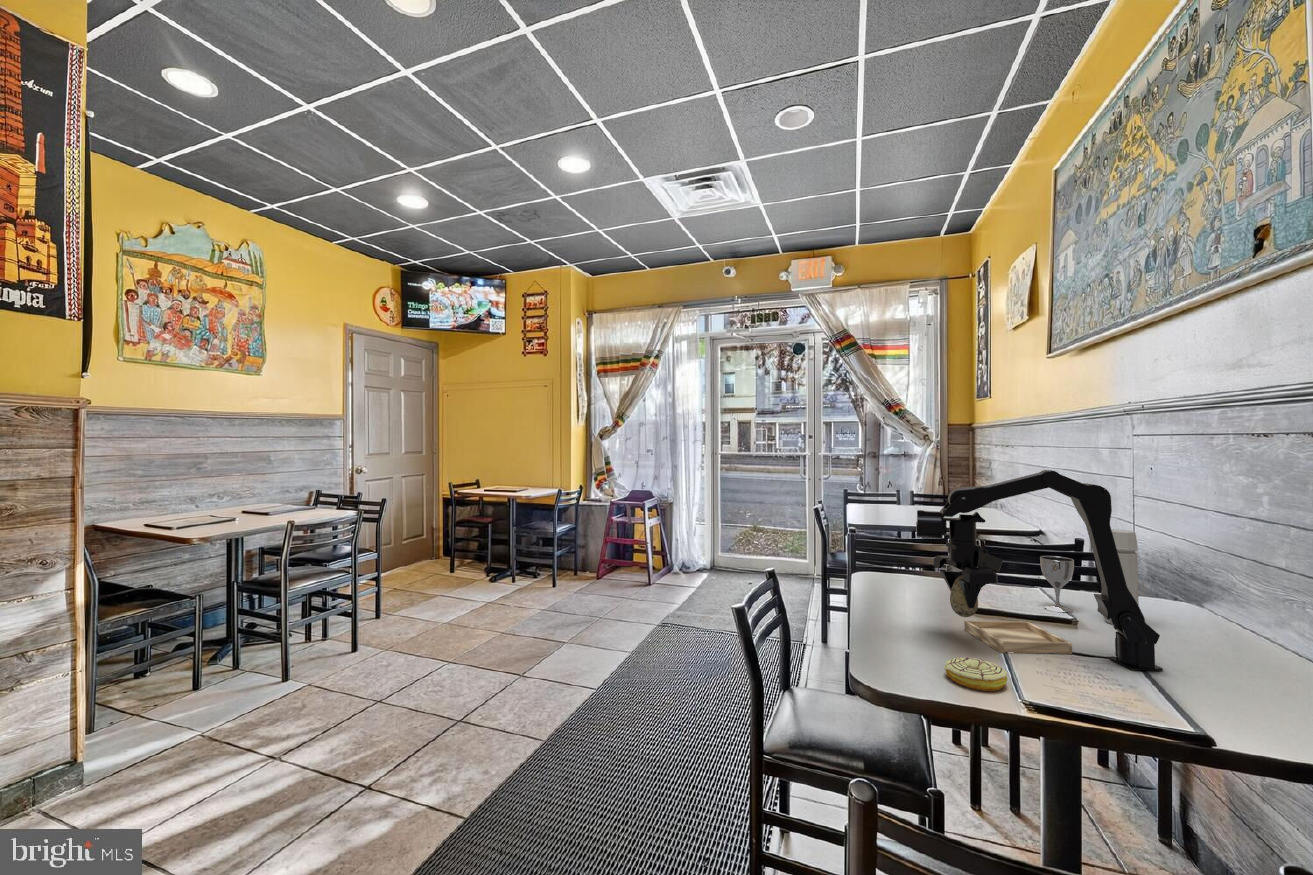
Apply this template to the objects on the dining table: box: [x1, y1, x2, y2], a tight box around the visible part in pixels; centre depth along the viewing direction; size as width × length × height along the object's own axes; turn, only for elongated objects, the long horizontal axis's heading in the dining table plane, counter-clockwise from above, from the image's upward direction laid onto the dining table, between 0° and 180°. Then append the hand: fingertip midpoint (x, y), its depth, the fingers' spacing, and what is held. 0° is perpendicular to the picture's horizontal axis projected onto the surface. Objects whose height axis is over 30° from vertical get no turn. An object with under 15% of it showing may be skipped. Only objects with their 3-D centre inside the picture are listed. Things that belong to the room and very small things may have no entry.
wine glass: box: [1039, 555, 1075, 614], centre depth 158 cm, size 8×8×15 cm
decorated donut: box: [944, 657, 1008, 692], centre depth 109 cm, size 10×11×4 cm
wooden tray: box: [963, 620, 1073, 655], centre depth 131 cm, size 16×16×2 cm
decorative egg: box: [949, 575, 979, 618], centre depth 130 cm, size 6×6×10 cm
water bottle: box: [1103, 528, 1140, 625], centre depth 146 cm, size 9×8×25 cm
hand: (964, 604), depth 130 cm, fingers closed on decorative egg, 6 cm apart
